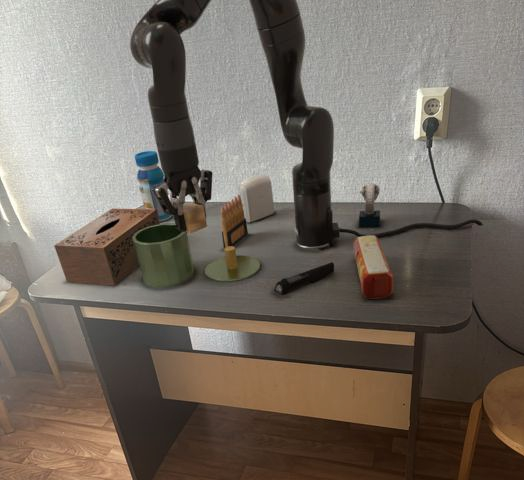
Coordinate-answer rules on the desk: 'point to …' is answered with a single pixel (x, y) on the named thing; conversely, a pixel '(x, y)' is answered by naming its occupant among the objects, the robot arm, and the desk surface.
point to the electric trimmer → (304, 278)
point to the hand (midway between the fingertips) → (192, 226)
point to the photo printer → (256, 197)
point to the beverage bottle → (150, 181)
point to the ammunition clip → (233, 222)
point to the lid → (232, 267)
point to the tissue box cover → (104, 247)
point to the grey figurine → (369, 207)
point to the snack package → (372, 268)
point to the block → (194, 217)
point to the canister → (163, 255)
